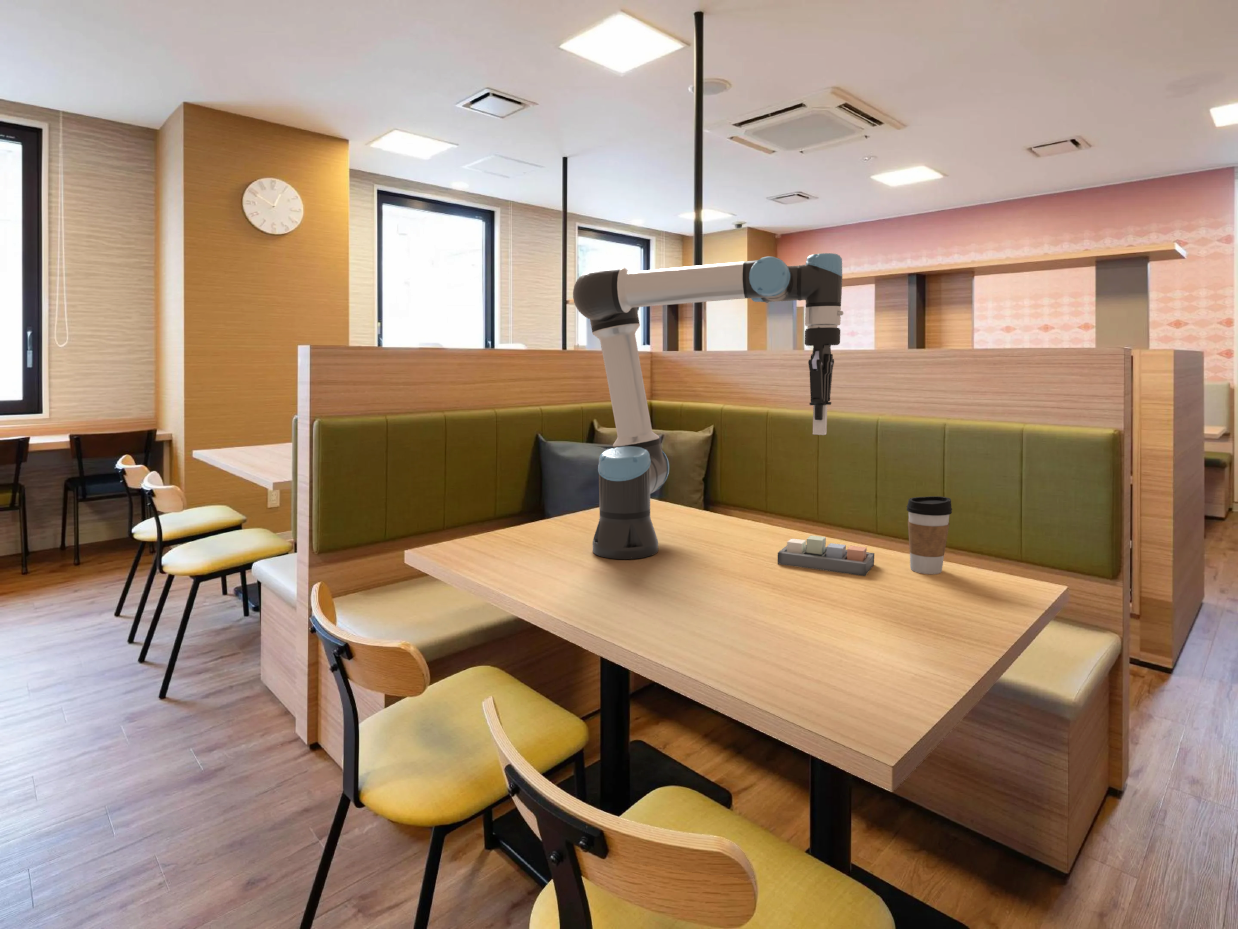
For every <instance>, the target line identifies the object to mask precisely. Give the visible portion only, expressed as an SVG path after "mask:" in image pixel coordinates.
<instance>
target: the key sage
mask: <svg viewBox="0 0 1238 929" xmlns="http://www.w3.org/2000/svg"><path fill="white" fill-rule="evenodd" d="M826 538H827V537H826V536H818V535H809V536H808V537H807V538H806V545H807V548H806V553H814V554H823V553H824V552H825V548H826V547H827V545H826V542H827V541H826Z"/></svg>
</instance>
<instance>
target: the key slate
mask: <svg viewBox="0 0 1238 929" xmlns="http://www.w3.org/2000/svg"><path fill="white" fill-rule="evenodd" d="M846 546H847V545H846V544H840V543H834V542H833V543H832V542H830V543H828V545H826V547H827V551H826V557H830V558H838V559H842V558H843V557H844V556H845V555H846V550H847V549H846Z"/></svg>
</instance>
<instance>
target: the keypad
mask: <svg viewBox="0 0 1238 929" xmlns="http://www.w3.org/2000/svg"><path fill="white" fill-rule="evenodd" d="M806 548H807V544H806ZM826 551H827V546H826V548H825V552H824V553H823V554H814V553H806V550H805V551H804V552H803V553H801V554H799V553H791V552H787V545H785V546H784V547H783V548H782V549H780V550H779V551H778V552H777V565H782V566H790V567H797V568H804V569H811V570H819V571H824V572H825V571H826V572H833V573H840V574H847V575H854V576H862V577H866V575H867V574H868V573H869V572H870V571H871V569H872V568H873V567H874V565H875V553H874V552H868V551H866V559H865V560H864V561H863V562H861V561H853V560H847V549H846V555H845V556H844V557H843V558H842V559H838V558H830V557H826Z"/></svg>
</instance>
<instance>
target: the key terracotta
mask: <svg viewBox="0 0 1238 929" xmlns="http://www.w3.org/2000/svg"><path fill="white" fill-rule="evenodd" d="M867 548H868V547H865V546H859V545H857V546H856V545H850V546H849V547H848V548H847V549H846V550H847V560H853V561H861V562H863V561H864V560H865V559H866V552H867V551H868V550H867Z"/></svg>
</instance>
